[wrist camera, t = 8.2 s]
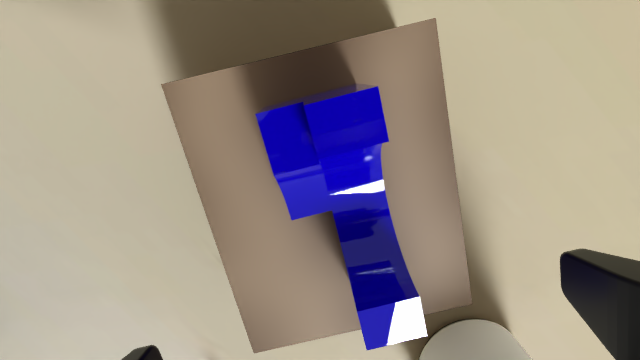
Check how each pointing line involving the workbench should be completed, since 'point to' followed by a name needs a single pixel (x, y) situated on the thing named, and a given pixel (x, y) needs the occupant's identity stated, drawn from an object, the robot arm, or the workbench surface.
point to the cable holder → (347, 198)
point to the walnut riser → (320, 229)
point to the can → (473, 343)
